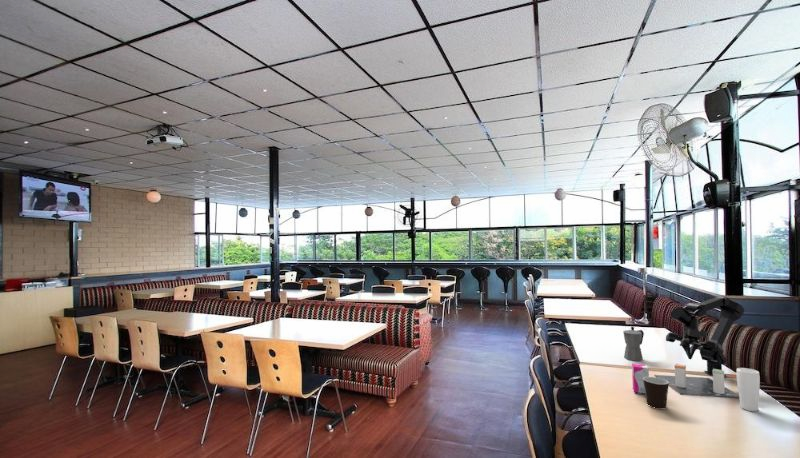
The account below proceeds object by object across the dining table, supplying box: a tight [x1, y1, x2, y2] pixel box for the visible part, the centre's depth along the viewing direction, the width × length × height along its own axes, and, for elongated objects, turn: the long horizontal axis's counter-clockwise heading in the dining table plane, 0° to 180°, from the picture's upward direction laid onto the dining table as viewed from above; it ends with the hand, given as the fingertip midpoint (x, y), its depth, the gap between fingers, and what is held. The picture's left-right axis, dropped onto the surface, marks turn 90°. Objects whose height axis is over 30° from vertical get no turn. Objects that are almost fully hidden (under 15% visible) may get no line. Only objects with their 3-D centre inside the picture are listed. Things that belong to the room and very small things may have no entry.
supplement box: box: [631, 363, 650, 395], centre depth 170 cm, size 6×6×12 cm
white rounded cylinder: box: [736, 367, 761, 413], centre depth 152 cm, size 7×7×15 cm
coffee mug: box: [643, 376, 669, 409], centre depth 156 cm, size 12×9×10 cm
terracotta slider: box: [674, 363, 687, 388], centre depth 174 cm, size 3×4×9 cm
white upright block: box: [712, 369, 726, 394], centre depth 167 cm, size 3×4×9 cm
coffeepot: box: [622, 326, 645, 362], centre depth 219 cm, size 15×9×18 cm, turn 113°
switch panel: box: [653, 374, 740, 399], centre depth 176 cm, size 24×24×1 cm
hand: (690, 358), depth 181 cm, fingers closed
